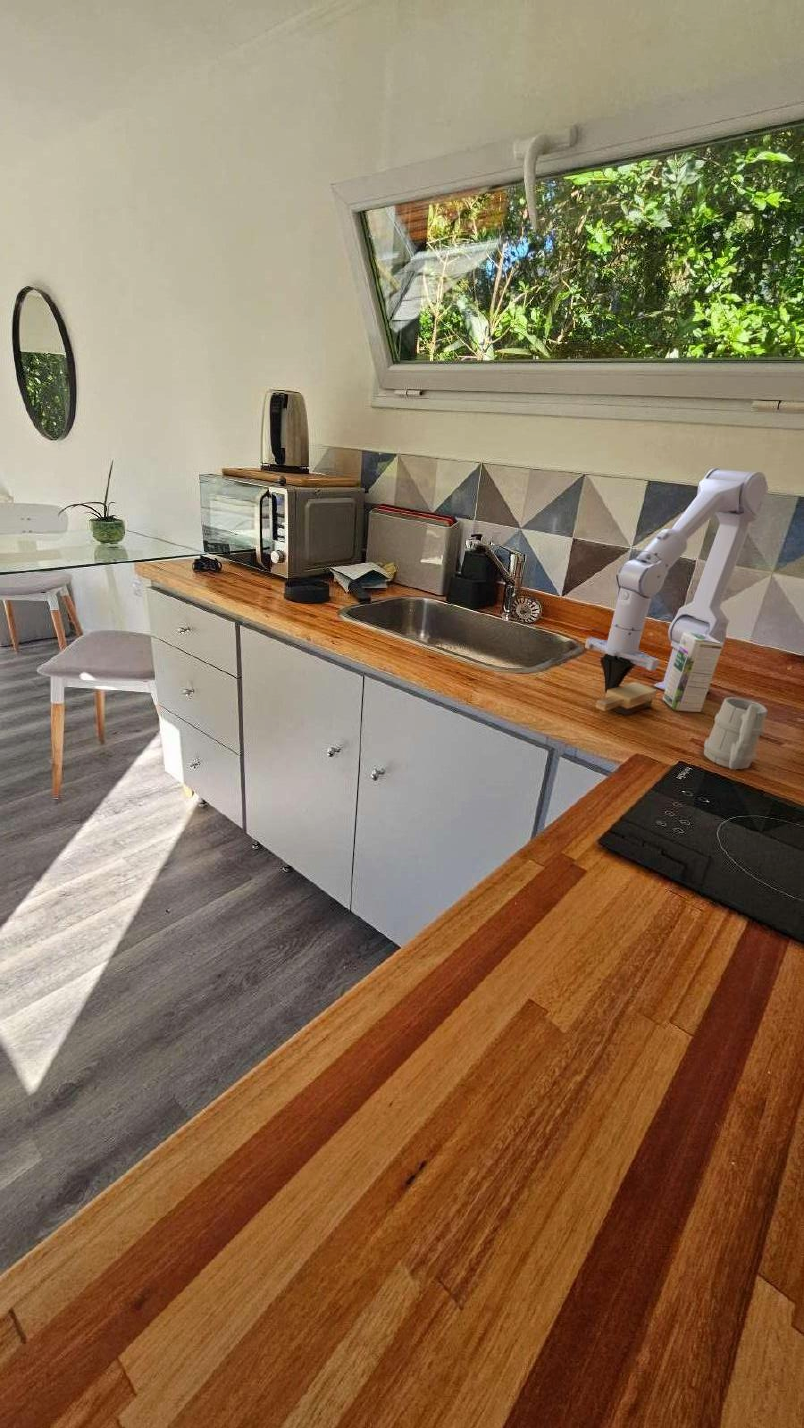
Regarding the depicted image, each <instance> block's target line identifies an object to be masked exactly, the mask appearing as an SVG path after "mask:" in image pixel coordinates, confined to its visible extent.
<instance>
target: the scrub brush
mask: <svg viewBox="0 0 804 1428" xmlns="http://www.w3.org/2000/svg"><path fill="white" fill-rule="evenodd" d="M657 694H658V689H656V688H654V687H650V686H648V685H646V684H642V683H639V682H638V681H631V682H628V683H626V684H623V685H620V686H619V687H616V688H612V689H609V690H607V693H605V697H603V698H601V699H597V700H596V703H595V708H596V709H598V710H601V711H602V712H606V711H608V710H610V711H613V712H615V713H618V714H620V715H622V716H624V717H625V716H628V715H630V714H634V713H636V712H639V711H642V710H645V709H648V708H650V707H651V706H652V703H653V701H654V700H656V697H657Z"/></svg>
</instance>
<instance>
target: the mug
mask: <svg viewBox="0 0 804 1428" xmlns="http://www.w3.org/2000/svg"><path fill="white" fill-rule="evenodd" d="M767 714H768V709H767V708H766V706H765V705H763V704H761V703H759V702H757V701H755V700H751V699H746V698H741V697H739V696H738V697H736V696H735V697H734V696H729V697H725V698H724V699H723V701H722V704H721V705H720V709H719V711H718V712H717V713H716V714H715V717H714V724H713V727H712V729H711V731H710V734H709V737H708V738H706V739H705V740H704V744H703V747H704V749H703V756H704V757H706V758H707V759H708V760H709V761H711V762H712V763H715V764H717V765H719V766H722V767H724V768H729V769H730V770H737V769H738V770H743V769H748V768H750V766H751V764H752V762H754V761H755V760H756V757H757V756H756V755H757V753H756V748H757V745H758V741H759V739H760V736H761V735H763V732H764V729H765V725H764V724H765V721H766V718H767Z"/></svg>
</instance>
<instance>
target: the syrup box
mask: <svg viewBox="0 0 804 1428" xmlns="http://www.w3.org/2000/svg"><path fill="white" fill-rule="evenodd" d="M723 647H724V644H723V643H721V642H719V641H717V640H716V639H714V638H712V637H711V636H710V635H705V634H700V633H683V635H682V638H681V641H680V645H679V648H678V651H677V654H676V657H675V661H674V664H673V667H672V670H671V673H670V677H669V680H668V683H667V686H666V690H664V694H663V696H662V701H663V702H665V703H666V704H667V705H668V706H669V707H670V708H671V709H672V710H673V711H677V712H679V711H681V712H693V713H701V712H702V709H703V706H704V703H705V700H706V697H707V694H708V692H709V691H708V689H710V685H711V683H712V679H713V677H714V673H715V670H716V669H717V665H718V661H719V659H720V656H721V652H722V650H723Z"/></svg>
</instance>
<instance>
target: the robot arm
mask: <svg viewBox="0 0 804 1428" xmlns="http://www.w3.org/2000/svg"><path fill="white" fill-rule="evenodd" d="M766 478H767V477H766V475H765V474H764V473H763V472H761V471H754V472H753V471H743V470H731V469H721V468H718V467H714V468H711V469H710V470H709V471H707V473H706V474H705V475H704V477H703V478H702V479H701V480H700V481H699V483H698V486H697V493H696V497H695V498H694V499H693V500H692V502H691V503H690V504H689V505H688V507H687V508H686V509H685V511H684V512H683V513H682V514H681V516H680V517H679V518H678V520H677V521H676V522H675V524H674V525H673V526H672V527H671V528H664V529H662V530H661V531H659V532H658V533H657V535H656V536H655V537H654V538H653V539H652V540H651V541H650V542H649V544H648V545H646V547H645V548H644V549H643V550H642V551H641V552H640V553H639V555H638V556H636V558H634V559H631V560H628V561H626V562H624V563H623V564H622V565H621V566H620V568H619V570H618V571H617V573H616V574H615V576H614V582H615V586H616V592H615V598H616V603H615V607H614V612H613V615H612V619H611V620H612V621H611V624H610V628H609V632H608V636H607V640H604V639H599V638H596V637H587V638H586V639H585V640H586V641H585V645H584V648H585V649H588V650H593V651H596V652H598V653H602V654H604V656H602V657H601V658H600V660H599V661H600V664H601V668H602V671H603V678H604V693H605V694H606V693H607V690H609V689H612V688H616V687H619V686H621V684H622V682H623V681H624V679H625V678H626V677H627V675H629V673H630V672H631V671H632V670H633V669H634V667H635V666H636V665H637V666H639V667H643V668H645V669H646V670H647V671H650V672H651V671H656V670H657V668H658V665H659V662H660V659H658V658H656V657H653V656H651V655H649V654H647V653H645V652H643V651H641V650H639V647H640V642H641V639H642V635H643V631H644V628H645V624H646V620H647V618H648V617H647V616H648V613H649V609H650V605H651V601H652V597H653V596H655V595H656V594H658V593H659V592H660V591H661V589H662V588H663V586H664V583H665V580H666V578H667V577H668V574H669V570H670V569H671V568H672V567H673V565H675V563H676V562H677V561H678V560H679V559H680V558H681V556H683V555H684V554H685V552H686V551H687V549H688V539H690V538H691V537H692V536H693V535H694V534H695V533H696V532H697V531H698V530H699V529H700V528H701V527H702V526H704V525H705V524H706V523H707V522H708V521H709V520H710V519H711V518H712V517H713V516H714V515H715V516H716V517H717V520H718V523H719V526H718V529H717V532H716V535H715V537H714V540H713V542H712V545H711V548H710V551H709V554H708V556H707V560H706V563H705V565H704V568H703V571H702V574H701V576H700V580H699V582H698V585H697V588H696V591H695V593H694V596H693V598H692V601H691V602H689V603H687V604H685V605H683V606H681V607H679V608H678V610H677V613H676V615H675V617H674V618H673V620H672V621H671V622H670V624H669V627H668V630H667V638H668V640H669V641H670V647H672V649H671V653H670V657H669V659H668V663H667V667H666V670H665V673H664V677H663V681H659V682H656V683H654V685H653V687H655V688H658V689H660V690H663V691H665V690H666V686H667V683H668V680H669V677H670V673H671V670H672V667H673V664H674V661H675V657H676V654H677V651H678V648H679V645H680V641H681V638H682V635H683V633H700V634H705V635H710V636H711V637H712V638H714V639H716V640H717V641H719V642H721V643H723V645H724V644H725V642H726V639H727V629H728V625H729V622H730V620H729V618H728V617H727V616H726V614H725V613H724V612H723V610H722V608H721V606H722V603H723V600H724V597H725V595H726V592H727V590H728V587H729V584H730V581H731V580H732V579H731V578H732V576H733V573H734V571H735V568H736V565H737V563H738V560H739V557H740V555H741V552H742V550H743V547H744V544H745V541H746V539H747V536H748V533H749V531H750V529H751V528H750V527H751V525H752V523H753V522H754V521H756V520H757V519H758V516H759V515H760V513H761V509H762V507H763V504H764V501H765V498H766V496H767V494H768V490H769V485H768V481H767V479H766ZM709 691H710V688H708V692H709Z"/></svg>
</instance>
